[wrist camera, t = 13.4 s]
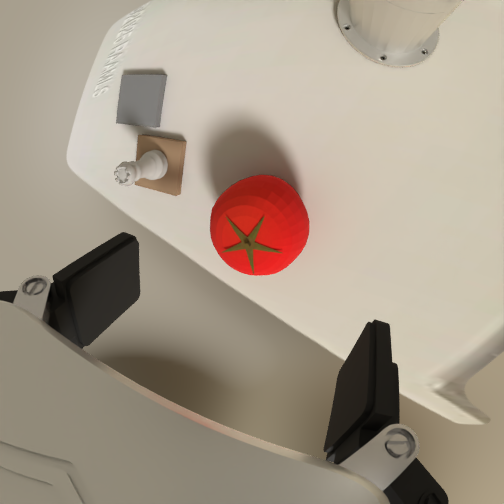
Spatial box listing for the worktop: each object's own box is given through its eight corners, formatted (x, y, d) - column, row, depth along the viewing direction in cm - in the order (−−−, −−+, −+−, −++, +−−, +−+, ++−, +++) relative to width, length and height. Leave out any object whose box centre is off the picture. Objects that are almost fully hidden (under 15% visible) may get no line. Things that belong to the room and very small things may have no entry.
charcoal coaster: (127, 75, 37) (122, 75, 36) (167, 75, 35) (162, 74, 34) (121, 122, 40) (116, 123, 39) (159, 127, 39) (154, 127, 38)
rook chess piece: (151, 182, 42) (116, 196, 35) (141, 155, 40) (105, 165, 34) (173, 172, 40) (138, 186, 33) (163, 144, 39) (126, 152, 32)
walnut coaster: (143, 134, 40) (138, 135, 39) (186, 141, 39) (182, 142, 38) (139, 182, 44) (134, 184, 43) (180, 193, 43) (176, 195, 42)
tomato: (268, 267, 43) (244, 308, 34) (214, 207, 42) (175, 234, 33) (333, 220, 37) (326, 254, 28) (274, 151, 36) (246, 162, 27)
